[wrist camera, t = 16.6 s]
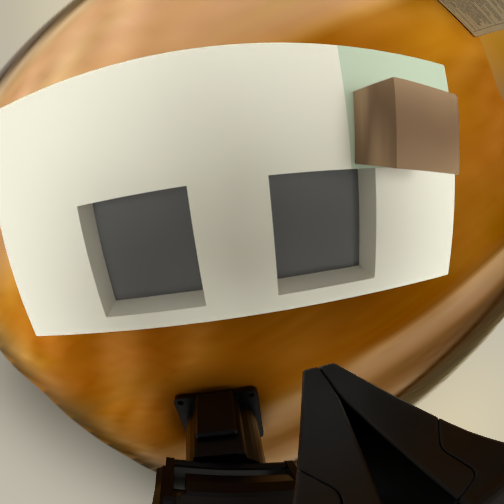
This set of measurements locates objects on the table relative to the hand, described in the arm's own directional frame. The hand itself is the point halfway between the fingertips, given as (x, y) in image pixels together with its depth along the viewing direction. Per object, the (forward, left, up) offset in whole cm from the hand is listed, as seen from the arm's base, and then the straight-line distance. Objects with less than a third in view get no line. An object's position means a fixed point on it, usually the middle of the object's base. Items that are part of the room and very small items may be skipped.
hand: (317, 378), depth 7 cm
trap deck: (+4, +1, -12) cm, 12 cm away
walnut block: (+7, -8, -9) cm, 14 cm away
